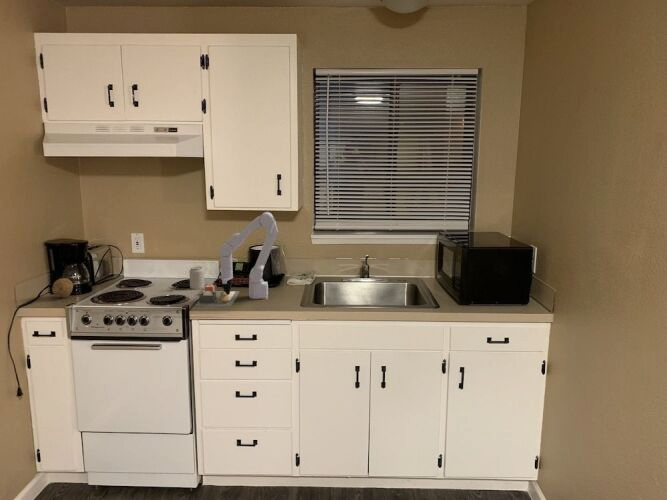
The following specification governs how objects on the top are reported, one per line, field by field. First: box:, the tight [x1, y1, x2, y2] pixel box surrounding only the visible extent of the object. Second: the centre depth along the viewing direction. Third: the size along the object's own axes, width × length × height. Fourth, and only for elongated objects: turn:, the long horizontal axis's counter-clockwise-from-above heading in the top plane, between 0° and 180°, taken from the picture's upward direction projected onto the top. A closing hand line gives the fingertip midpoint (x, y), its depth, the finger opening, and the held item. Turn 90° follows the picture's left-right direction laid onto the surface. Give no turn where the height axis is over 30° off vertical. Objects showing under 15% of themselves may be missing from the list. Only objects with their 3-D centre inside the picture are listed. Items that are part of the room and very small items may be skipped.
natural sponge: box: [51, 277, 74, 299], centre depth 231 cm, size 9×9×10 cm
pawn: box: [218, 290, 229, 304], centre depth 226 cm, size 5×5×5 cm
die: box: [204, 284, 215, 292], centre depth 240 cm, size 4×4×4 cm
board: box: [194, 290, 240, 307], centre depth 233 cm, size 17×26×4 cm, turn 2°
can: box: [188, 266, 205, 290], centre depth 252 cm, size 8×8×12 cm
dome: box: [203, 290, 213, 296], centre depth 227 cm, size 5×5×5 cm
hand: (227, 294), depth 235 cm, fingers closed
